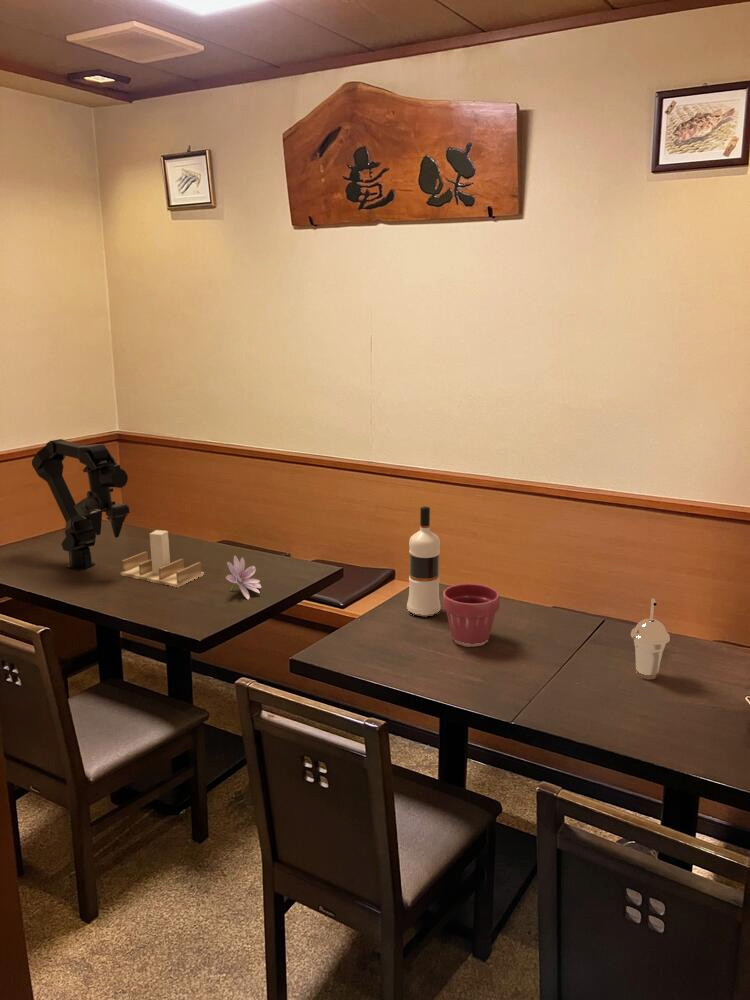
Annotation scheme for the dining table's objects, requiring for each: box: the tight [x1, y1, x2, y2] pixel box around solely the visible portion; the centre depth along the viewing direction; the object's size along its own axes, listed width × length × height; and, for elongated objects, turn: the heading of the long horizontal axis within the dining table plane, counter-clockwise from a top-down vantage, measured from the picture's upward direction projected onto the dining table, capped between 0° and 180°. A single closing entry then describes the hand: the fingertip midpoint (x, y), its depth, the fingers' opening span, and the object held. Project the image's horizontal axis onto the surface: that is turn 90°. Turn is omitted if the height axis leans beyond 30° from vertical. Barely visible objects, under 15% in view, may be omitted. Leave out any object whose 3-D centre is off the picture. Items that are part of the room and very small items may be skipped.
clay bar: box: [149, 529, 171, 575], centre depth 247 cm, size 4×4×13 cm
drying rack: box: [120, 551, 205, 589], centre depth 249 cm, size 23×12×4 cm, turn 62°
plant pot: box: [442, 583, 500, 644], centre depth 202 cm, size 14×14×13 cm
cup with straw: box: [630, 597, 671, 675], centre depth 182 cm, size 8×9×20 cm
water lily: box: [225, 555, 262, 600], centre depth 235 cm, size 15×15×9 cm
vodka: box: [406, 506, 442, 615], centre depth 217 cm, size 9×9×30 cm
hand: (107, 536), depth 246 cm, fingers open, 9 cm apart
